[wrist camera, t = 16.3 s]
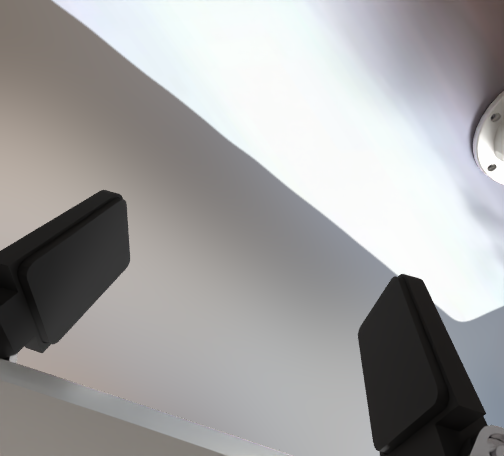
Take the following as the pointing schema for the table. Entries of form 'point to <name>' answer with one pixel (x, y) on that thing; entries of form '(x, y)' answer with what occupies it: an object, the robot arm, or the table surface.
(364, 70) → the table surface
